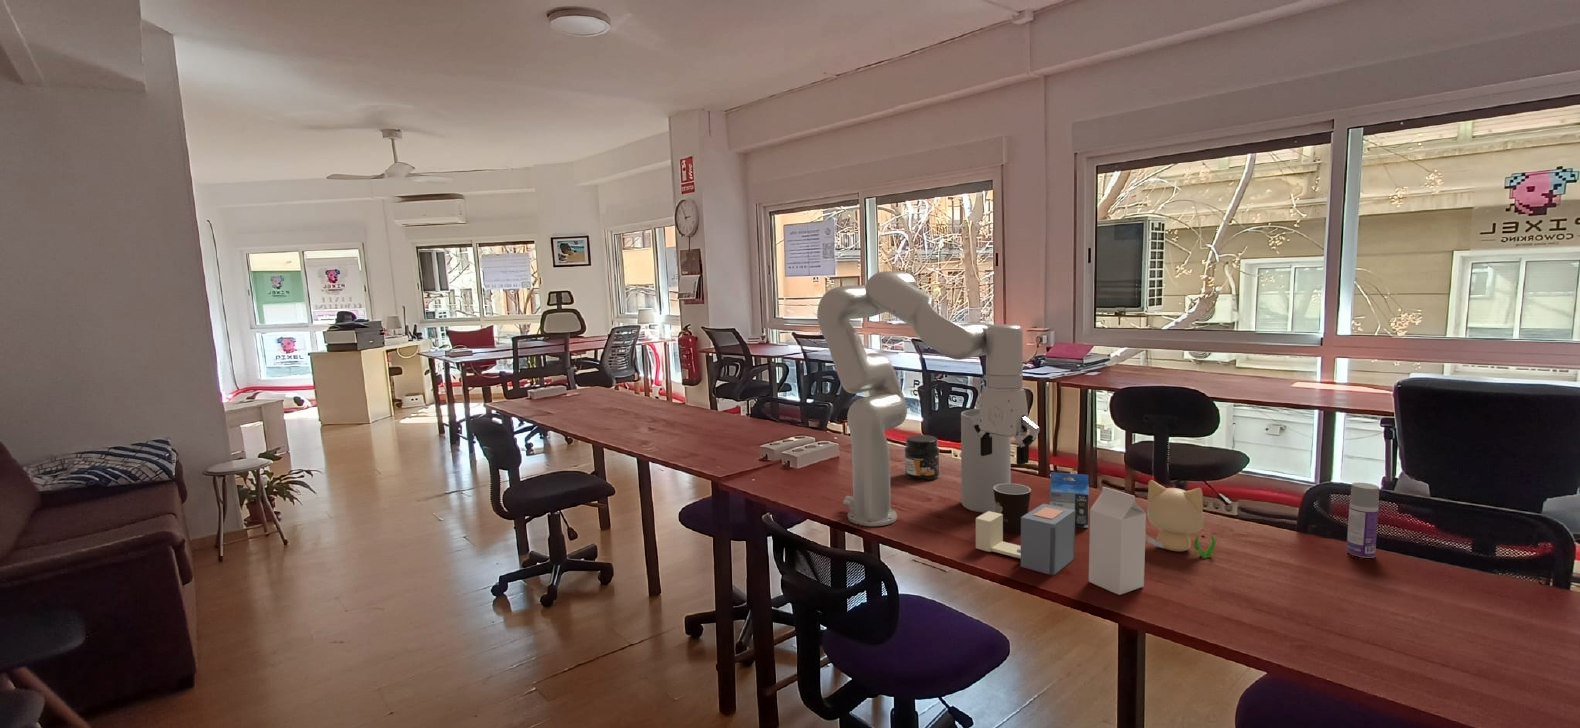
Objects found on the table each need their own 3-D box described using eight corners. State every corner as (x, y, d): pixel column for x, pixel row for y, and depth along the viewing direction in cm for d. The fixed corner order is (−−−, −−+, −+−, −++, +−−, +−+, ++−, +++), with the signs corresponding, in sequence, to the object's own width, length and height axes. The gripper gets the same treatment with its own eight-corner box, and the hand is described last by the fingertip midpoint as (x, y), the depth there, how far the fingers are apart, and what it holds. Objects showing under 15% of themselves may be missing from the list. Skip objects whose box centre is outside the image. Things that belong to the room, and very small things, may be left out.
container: (1370, 552, 148) (1375, 483, 146) (1378, 560, 144) (1383, 490, 142) (1343, 549, 150) (1348, 481, 148) (1350, 557, 146) (1354, 487, 144)
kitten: (1220, 550, 152) (1223, 483, 150) (1209, 565, 144) (1212, 495, 142) (1146, 534, 162) (1148, 472, 160) (1132, 548, 154) (1134, 482, 153)
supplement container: (904, 481, 209) (904, 442, 208) (904, 471, 220) (904, 434, 218) (940, 482, 208) (940, 442, 206) (938, 472, 218) (938, 434, 216)
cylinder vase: (1015, 502, 187) (1016, 411, 184) (1002, 517, 177) (1003, 420, 173) (970, 496, 194) (969, 407, 191) (954, 509, 183) (954, 416, 180)
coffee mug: (1033, 536, 163) (1033, 494, 162) (994, 534, 165) (994, 493, 164) (1026, 519, 175) (1026, 480, 173) (990, 517, 176) (990, 479, 175)
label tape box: (1049, 525, 170) (1049, 476, 168) (1049, 519, 174) (1050, 471, 172) (1088, 529, 167) (1089, 479, 165) (1087, 523, 170) (1089, 474, 169)
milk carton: (1119, 596, 132) (1122, 499, 130) (1088, 582, 139) (1090, 489, 136) (1144, 587, 136) (1147, 492, 133) (1112, 574, 142) (1114, 483, 139)
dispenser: (1015, 565, 148) (1015, 515, 146) (1037, 549, 156) (1038, 501, 154) (1053, 575, 142) (1054, 523, 141) (1074, 558, 150) (1075, 509, 149)
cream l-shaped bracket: (975, 548, 157) (975, 518, 156) (988, 540, 161) (988, 511, 160) (1051, 568, 145) (1051, 536, 144) (1062, 559, 149) (1063, 527, 148)
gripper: (961, 379, 155) (961, 454, 157) (1026, 388, 141) (1026, 470, 143) (984, 376, 159) (984, 449, 162) (1049, 384, 145) (1048, 464, 147)
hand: (1003, 459), depth 152 cm, fingers open, 9 cm apart
